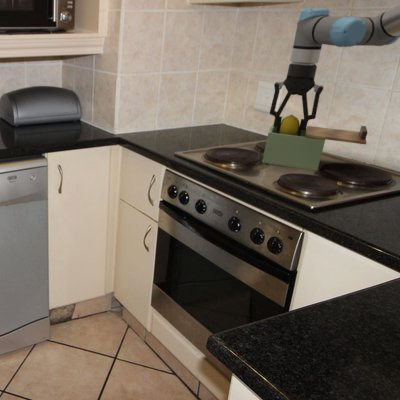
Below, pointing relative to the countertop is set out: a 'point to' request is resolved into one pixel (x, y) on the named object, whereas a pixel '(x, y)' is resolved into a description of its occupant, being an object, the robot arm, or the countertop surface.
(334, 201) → the countertop surface
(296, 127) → the lemon
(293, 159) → the caddy
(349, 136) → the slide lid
